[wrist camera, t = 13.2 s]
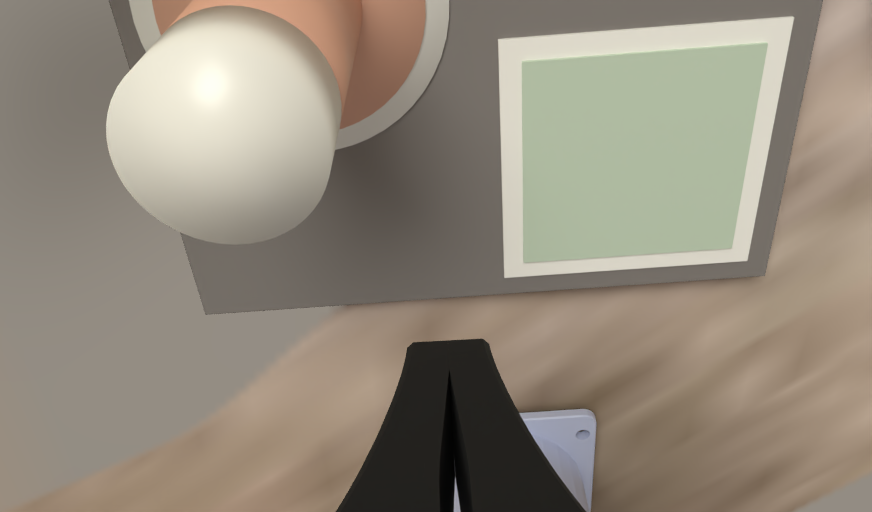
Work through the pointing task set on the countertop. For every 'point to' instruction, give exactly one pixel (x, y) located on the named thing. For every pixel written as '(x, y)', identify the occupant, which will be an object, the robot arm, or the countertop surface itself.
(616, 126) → the grey rectangular board
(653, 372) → the countertop surface
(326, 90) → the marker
